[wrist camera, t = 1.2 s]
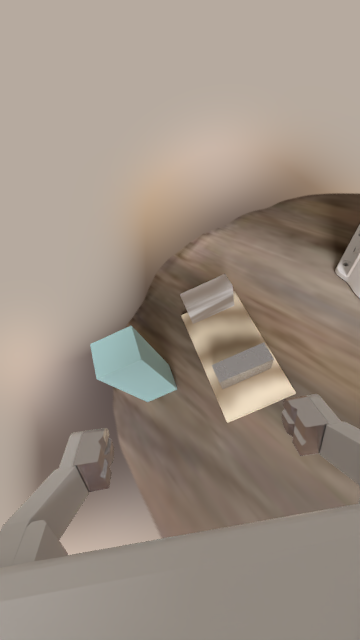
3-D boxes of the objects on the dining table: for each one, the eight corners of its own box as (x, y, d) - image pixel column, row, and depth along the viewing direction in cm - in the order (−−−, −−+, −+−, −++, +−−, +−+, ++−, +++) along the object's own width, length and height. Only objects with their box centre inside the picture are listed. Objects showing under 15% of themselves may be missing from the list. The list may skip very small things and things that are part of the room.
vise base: (294, 394, 41) (304, 383, 34) (227, 422, 41) (223, 418, 34) (234, 293, 52) (232, 270, 45) (182, 317, 52) (172, 297, 45)
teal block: (177, 389, 46) (141, 359, 30) (147, 402, 46) (96, 379, 30) (168, 364, 48) (131, 325, 32) (140, 377, 48) (90, 344, 33)
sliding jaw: (271, 368, 42) (274, 358, 38) (222, 389, 42) (219, 382, 38) (262, 353, 44) (264, 342, 39) (215, 373, 44) (211, 365, 39)
